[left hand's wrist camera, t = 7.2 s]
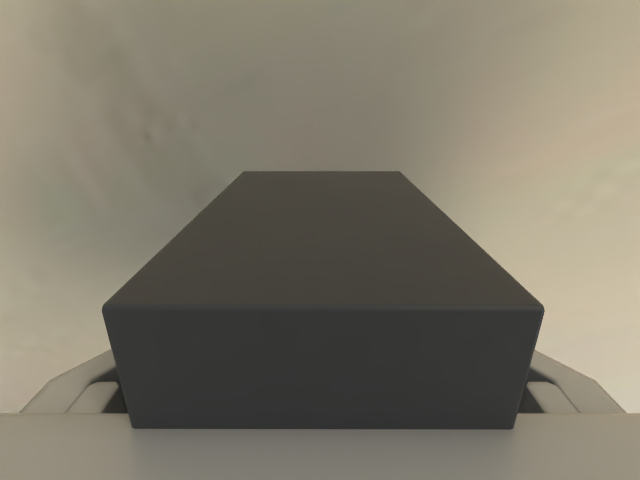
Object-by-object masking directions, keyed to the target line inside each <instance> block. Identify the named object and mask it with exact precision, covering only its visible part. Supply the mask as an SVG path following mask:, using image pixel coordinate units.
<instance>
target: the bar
mask: <svg viewBox="0 0 640 480" xmlns="http://www.w3.org/2000/svg"><path fill="white" fill-rule="evenodd" d="M102 313H103V317H104V321H105V325H106V329H107V333H108V337H109V340H110V344H111V348H112V352H113V356H114V360H115V364H116V368H117V371H118V375H119V379H120V383H121V387H122V391H123V395H124V399H125V402H126V406H127V410H128V414H129V418H130V422H131V426H132V428H134V429H477V430H511V429H513V428H514V425H515V421H516V417H517V413H518V409H519V406H520V402H521V398H522V394H523V391H524V387H525V383H526V379H527V376H528V372H529V368H530V364H531V360H532V357H533V353H534V349H535V345H536V342H537V338H538V334H539V330H540V326H541V323H542V319H543V315H544V307H543V305H542V304H541V303H540V302H539V301H538V300H537V299H536V298H535V297H533V296H532V295H531V294H530V293H529V292H528V291H527V290H526V289H525V288H524V287H523V286H522V285H521V284H520V283H518V282H517V281H516V280H515V279H514V278H513V277H512V276H511V275H510V274H509V273H508V272H507V271H506V270H505V269H503V268H502V267H501V266H500V265H499V264H498V263H497V262H496V261H495V260H494V259H493V258H492V257H491V256H490V255H488V254H487V253H486V252H485V251H484V250H483V249H482V248H481V247H480V246H479V245H478V244H477V243H476V242H475V241H473V240H472V239H471V238H470V237H469V236H468V235H467V234H466V233H465V232H464V231H463V230H462V229H461V228H460V227H458V226H457V225H456V224H455V223H454V222H453V221H452V220H451V219H450V218H449V217H448V216H447V215H446V214H445V213H443V212H442V211H441V210H440V209H439V208H438V207H437V206H436V205H435V204H434V203H433V202H432V201H431V200H430V199H428V198H427V197H426V196H425V195H424V194H423V193H422V192H421V191H420V190H419V189H418V188H417V187H416V186H415V185H413V184H412V183H411V182H410V181H409V180H408V179H407V178H406V177H405V176H404V175H403V174H402V173H401V172H243V173H242V174H241V175H240V176H239V177H237V178H236V179H235V180H234V181H233V182H232V183H231V184H230V185H229V186H228V187H227V188H226V189H225V190H224V191H223V192H222V193H221V194H220V195H219V196H217V197H216V198H215V199H214V200H213V201H212V202H211V203H210V204H209V205H208V206H207V207H206V208H205V209H204V210H203V211H202V212H201V213H200V214H199V215H197V216H196V217H195V218H194V219H193V220H192V221H191V222H190V223H189V224H188V225H187V226H186V227H185V228H184V229H183V230H182V231H181V232H180V233H179V234H177V235H176V236H175V237H174V238H173V239H172V240H171V241H170V242H169V243H168V244H167V245H166V246H165V247H164V248H163V249H162V250H161V251H160V252H159V253H157V254H156V255H155V256H154V257H153V258H152V259H151V260H150V261H149V262H148V263H147V264H146V265H145V266H144V267H143V268H142V269H141V270H140V271H139V272H137V273H136V274H135V275H134V276H133V277H132V278H131V279H130V280H129V281H128V282H127V283H126V284H125V285H124V286H123V287H122V288H121V289H120V290H119V291H117V292H116V293H115V294H114V295H113V296H112V297H111V298H110V299H109V300H108V301H107V302H106V303H105V304H104V305H103V307H102Z"/></svg>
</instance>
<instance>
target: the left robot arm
mask: <svg viewBox="0 0 640 480" xmlns="http://www.w3.org/2000/svg"><path fill="white" fill-rule="evenodd" d="M0 480H640V413H626V412H625V411H624V410H623V409H622V408H621V407H620V406H619V405H618V403H617V402H616V401H615V400H614V399H613V398H612V397H611V396H610V395H609V394H608V393H607V392H606V391H605V390H604V389H603V388H602V387H601V386H600V385H599V384H598V383H597V382H596V381H595V380H593V379H591V378H589V377H587V376H585V375H583V374H581V373H579V372H577V371H575V370H573V369H571V368H569V367H567V366H565V365H563V364H561V363H559V362H557V361H555V360H553V359H552V358H550V357H548V356H546V355H544V354H542V353H540V352H538V351H536V350H534V353H533V357H532V360H531V364H530V368H529V372H528V376H527V379H526V383H525V387H524V391H523V394H522V398H521V402H520V406H519V409H518V413H517V417H516V421H515V425H514V428H513V429H511V430H477V429H134V428H132V426H131V422H130V418H129V414H128V410H127V406H126V402H125V399H124V395H123V391H122V387H121V383H120V379H119V375H118V371H117V368H116V364H115V360H114V356H113V352H112V349H110V350H108V351H106V352H105V353H103V354H101V355H99V356H97V357H95V358H93V359H91V360H89V361H87V362H85V363H83V364H81V365H79V366H77V367H75V368H73V369H71V370H69V371H67V372H65V373H63V374H61V375H59V376H57V377H56V378H54V379H52V380H50V381H49V382H48V383H47V384H46V385H45V386H44V387H43V388H42V389H41V390H40V391H39V392H38V393H37V394H36V395H35V397H34V398H33V399H32V400H31V401H30V402H29V403H28V404H27V405H26V406H25V407H24V408H23V409H22V410H21V411H20V412H19V413H0Z"/></svg>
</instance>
